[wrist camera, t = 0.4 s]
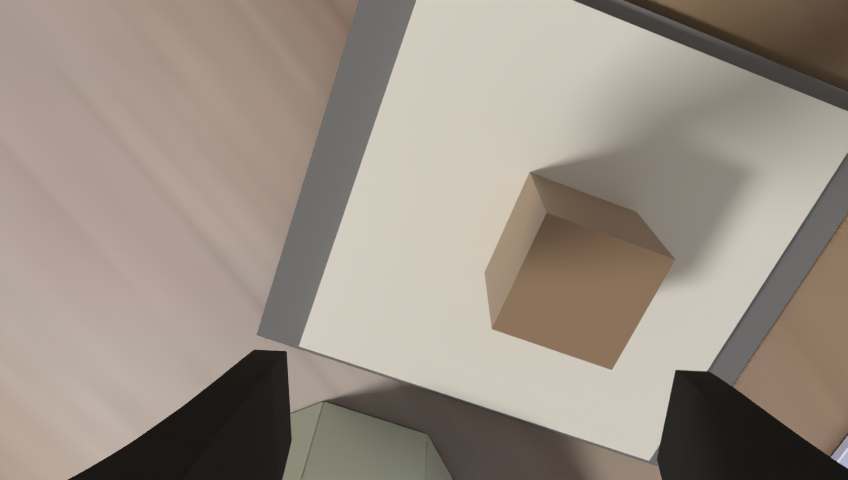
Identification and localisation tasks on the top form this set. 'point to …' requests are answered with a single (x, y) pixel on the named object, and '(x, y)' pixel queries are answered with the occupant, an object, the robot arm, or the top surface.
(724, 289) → the cover sheet
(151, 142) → the top surface
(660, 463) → the robot arm
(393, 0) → the charcoal mat
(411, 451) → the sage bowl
